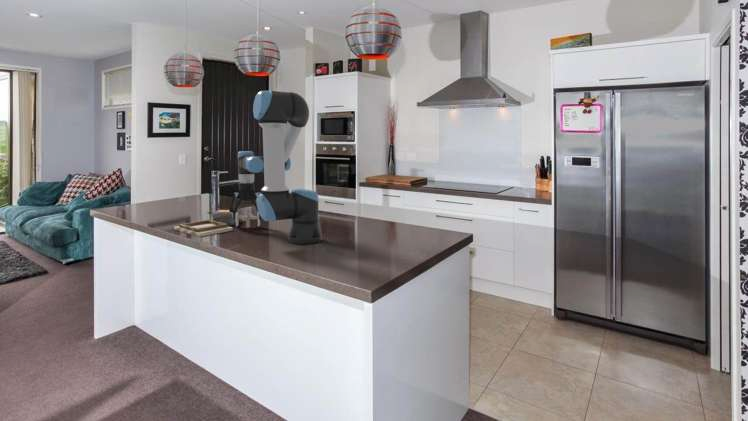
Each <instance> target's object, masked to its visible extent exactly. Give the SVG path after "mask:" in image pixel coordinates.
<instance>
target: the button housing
mask: <svg viewBox="0 0 748 421" xmlns="http://www.w3.org/2000/svg"><path fill="white" fill-rule="evenodd" d="M220 210H221V209H217V210H215V211H214V212H213V213H212V221H217V222H221V223H225V224H227V226H234V225H236V219H233V213H232V212H230V213H217V212H218V211H220ZM236 213H238V212H236Z"/></svg>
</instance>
